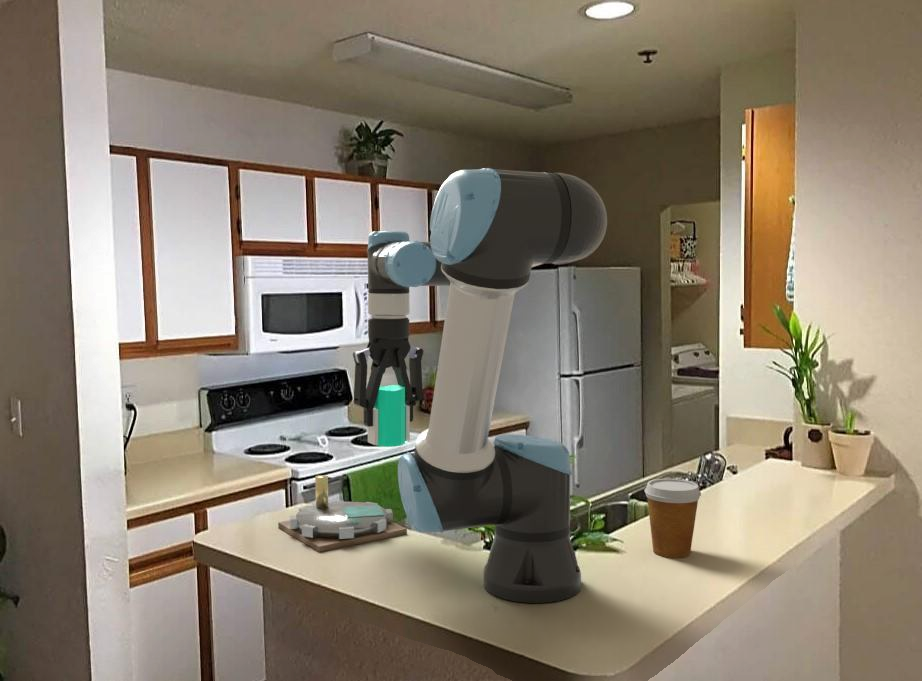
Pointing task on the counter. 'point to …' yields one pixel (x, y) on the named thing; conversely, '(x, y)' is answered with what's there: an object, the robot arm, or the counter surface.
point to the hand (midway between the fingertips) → (388, 441)
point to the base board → (333, 543)
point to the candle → (391, 415)
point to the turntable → (339, 516)
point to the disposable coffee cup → (672, 515)
